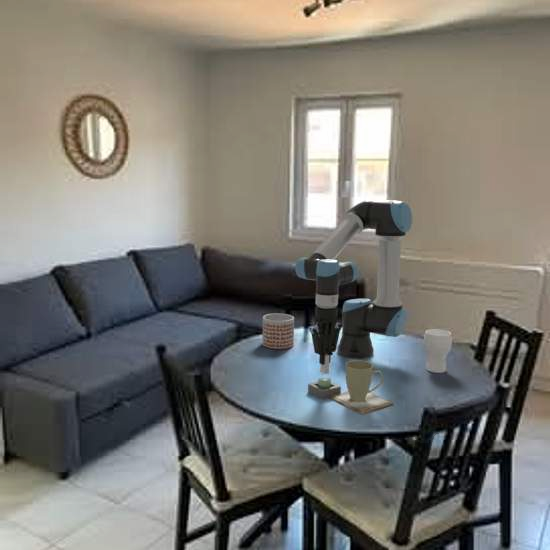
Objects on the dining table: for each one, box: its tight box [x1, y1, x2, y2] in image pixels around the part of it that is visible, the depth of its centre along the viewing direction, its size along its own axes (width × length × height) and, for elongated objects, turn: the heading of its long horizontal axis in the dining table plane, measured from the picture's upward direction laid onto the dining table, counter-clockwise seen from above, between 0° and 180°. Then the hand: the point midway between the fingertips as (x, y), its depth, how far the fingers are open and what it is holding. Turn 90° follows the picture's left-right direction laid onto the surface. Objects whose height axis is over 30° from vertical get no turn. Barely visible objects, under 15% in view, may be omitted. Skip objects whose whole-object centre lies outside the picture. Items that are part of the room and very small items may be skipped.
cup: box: [422, 328, 453, 374], centre depth 220 cm, size 11×11×15 cm
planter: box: [262, 313, 295, 350], centre depth 249 cm, size 14×14×13 cm
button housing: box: [307, 380, 342, 401], centre depth 196 cm, size 8×8×3 cm
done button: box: [317, 376, 332, 389], centre depth 196 cm, size 4×4×3 cm
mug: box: [344, 359, 384, 402], centre depth 189 cm, size 11×10×12 cm
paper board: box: [328, 390, 394, 415], centre depth 190 cm, size 16×14×1 cm
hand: (324, 372), depth 195 cm, fingers closed
